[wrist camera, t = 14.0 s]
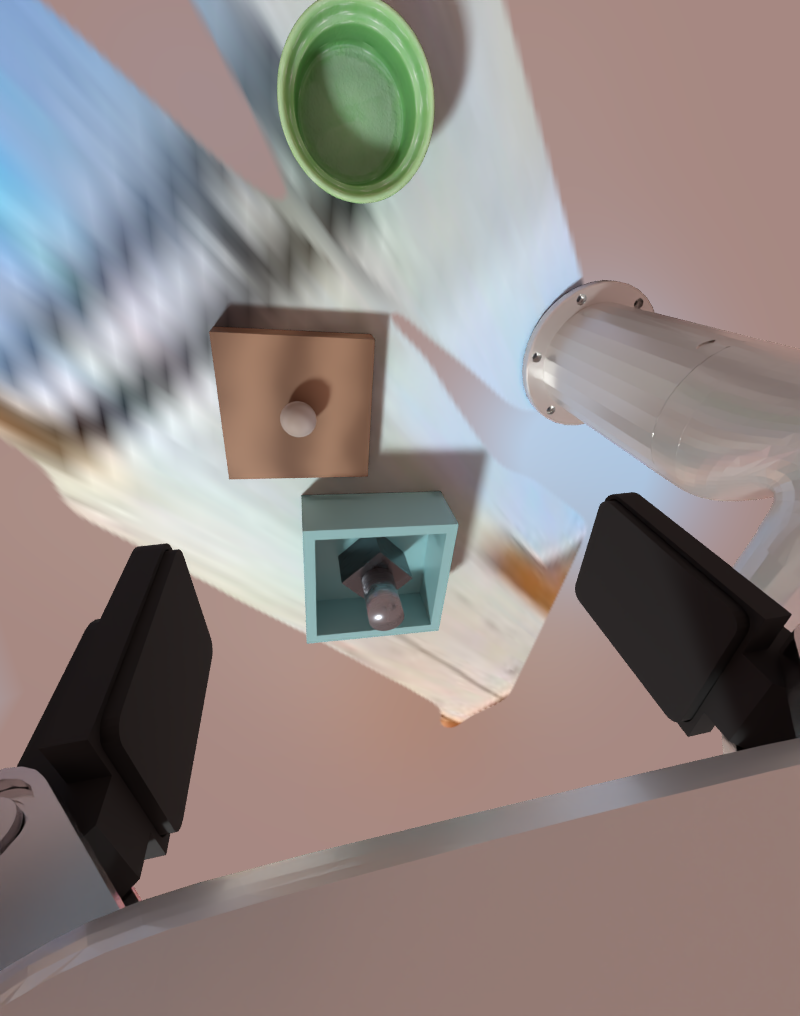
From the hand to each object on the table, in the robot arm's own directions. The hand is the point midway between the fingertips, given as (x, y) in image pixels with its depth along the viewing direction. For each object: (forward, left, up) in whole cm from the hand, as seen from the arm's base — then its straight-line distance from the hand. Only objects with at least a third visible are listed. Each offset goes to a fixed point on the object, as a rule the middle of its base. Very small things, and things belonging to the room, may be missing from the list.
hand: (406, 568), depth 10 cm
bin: (-5, +23, -30) cm, 38 cm away
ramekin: (-2, -12, -30) cm, 33 cm away
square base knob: (-5, +23, -29) cm, 37 cm away
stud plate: (+2, +7, -30) cm, 31 cm away
